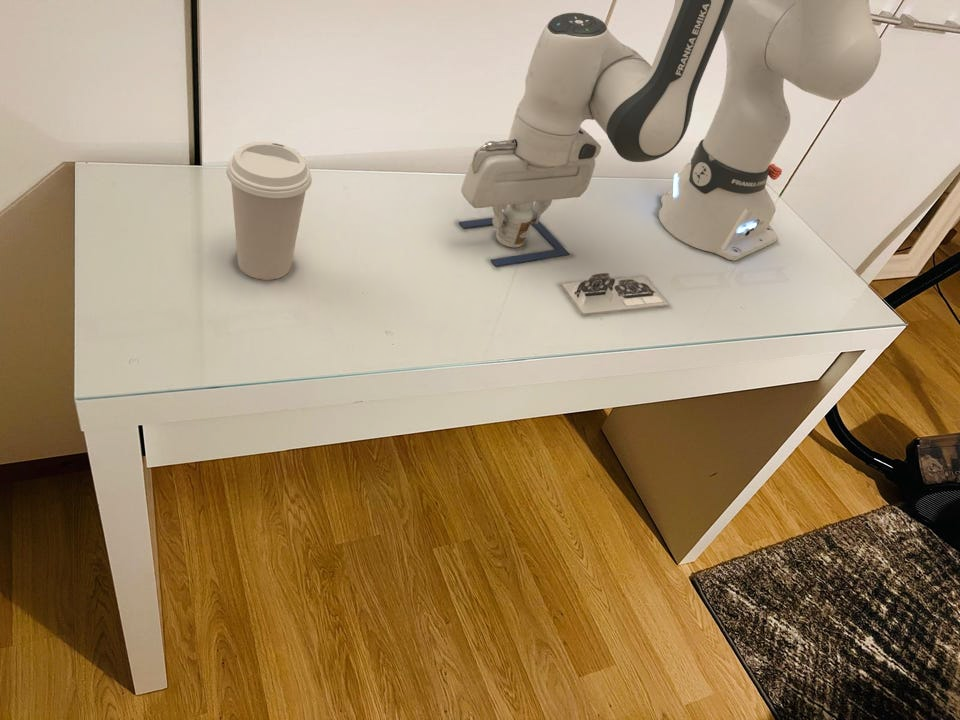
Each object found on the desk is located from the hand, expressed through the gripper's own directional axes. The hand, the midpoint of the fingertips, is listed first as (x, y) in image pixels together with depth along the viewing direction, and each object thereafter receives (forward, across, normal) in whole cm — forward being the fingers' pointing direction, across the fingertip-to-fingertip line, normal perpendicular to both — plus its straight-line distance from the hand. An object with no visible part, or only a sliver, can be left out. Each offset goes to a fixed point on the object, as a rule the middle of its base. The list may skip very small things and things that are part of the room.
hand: (514, 223), depth 112 cm
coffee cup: (+3, -37, +2) cm, 37 cm away
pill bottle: (+3, 0, 0) cm, 3 cm away
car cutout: (+3, +9, -16) cm, 18 cm away
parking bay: (+3, 0, 0) cm, 3 cm away
